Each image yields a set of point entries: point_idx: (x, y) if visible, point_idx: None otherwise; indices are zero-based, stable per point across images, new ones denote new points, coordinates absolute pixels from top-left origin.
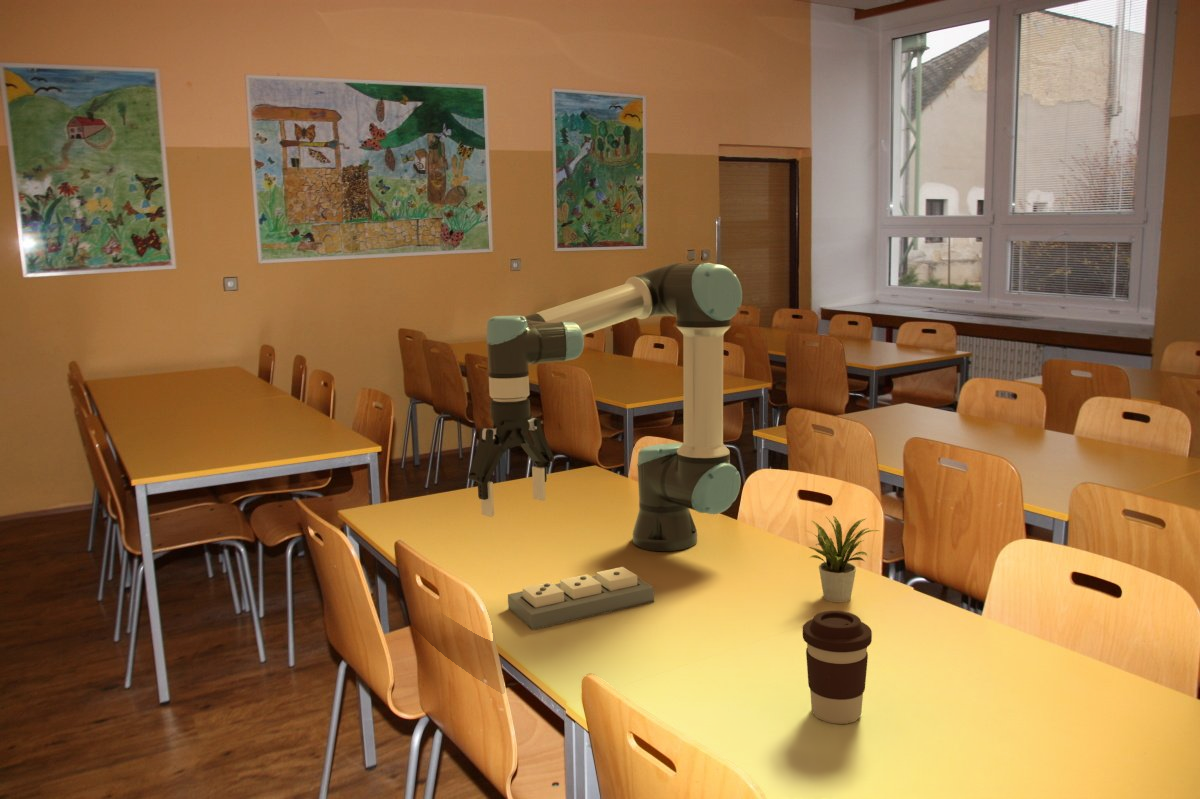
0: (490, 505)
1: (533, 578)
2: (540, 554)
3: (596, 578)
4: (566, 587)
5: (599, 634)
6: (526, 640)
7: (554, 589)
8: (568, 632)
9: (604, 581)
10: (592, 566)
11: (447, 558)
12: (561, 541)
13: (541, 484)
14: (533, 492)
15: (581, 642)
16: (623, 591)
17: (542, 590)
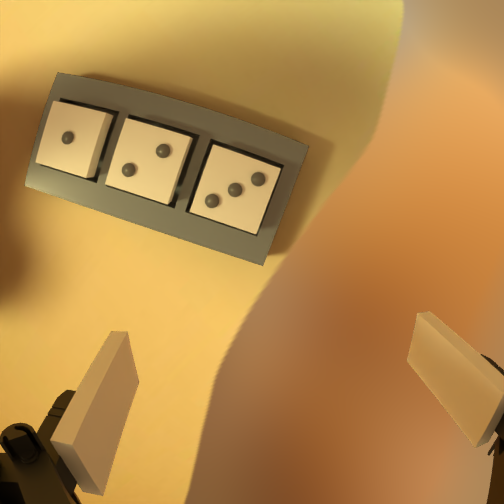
0: (455, 333)
1: (131, 330)
2: (67, 388)
3: (83, 189)
4: (178, 172)
5: (238, 43)
6: (337, 126)
7: (217, 169)
8: (267, 88)
9: (100, 140)
10: (30, 289)
11: (182, 463)
12: (23, 393)
13: (104, 383)
14: (132, 397)
15: (283, 46)
16: (102, 93)
17: (241, 185)
